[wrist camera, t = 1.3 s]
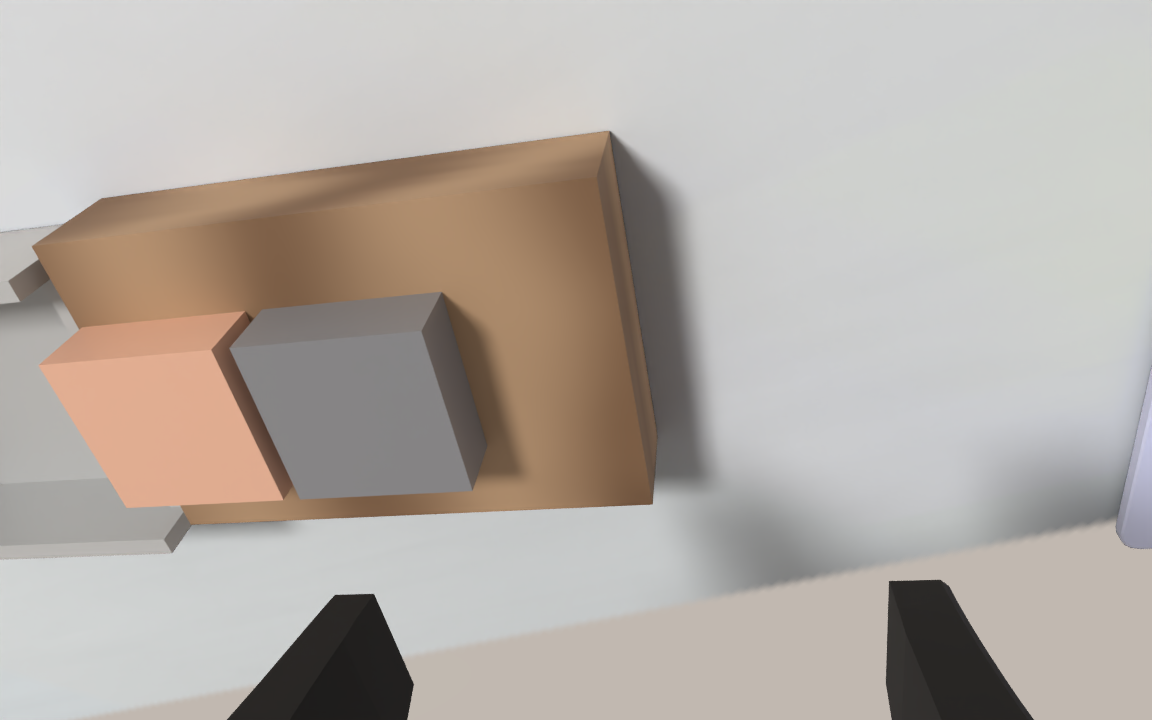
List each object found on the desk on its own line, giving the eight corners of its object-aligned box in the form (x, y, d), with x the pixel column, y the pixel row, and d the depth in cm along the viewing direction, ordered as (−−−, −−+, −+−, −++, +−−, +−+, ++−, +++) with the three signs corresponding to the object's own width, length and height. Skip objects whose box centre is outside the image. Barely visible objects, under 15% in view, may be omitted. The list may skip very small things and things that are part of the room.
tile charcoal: (442, 291, 17) (421, 331, 16) (487, 445, 19) (472, 490, 18) (262, 309, 18) (229, 348, 17) (325, 455, 20) (300, 499, 19)
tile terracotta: (244, 311, 18) (211, 349, 17) (309, 456, 20) (283, 500, 19) (82, 327, 19) (38, 365, 18) (160, 465, 21) (126, 507, 20)
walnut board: (609, 130, 17) (596, 176, 15) (657, 436, 22) (652, 504, 20) (101, 198, 20) (31, 246, 18) (234, 461, 24) (190, 524, 22)
